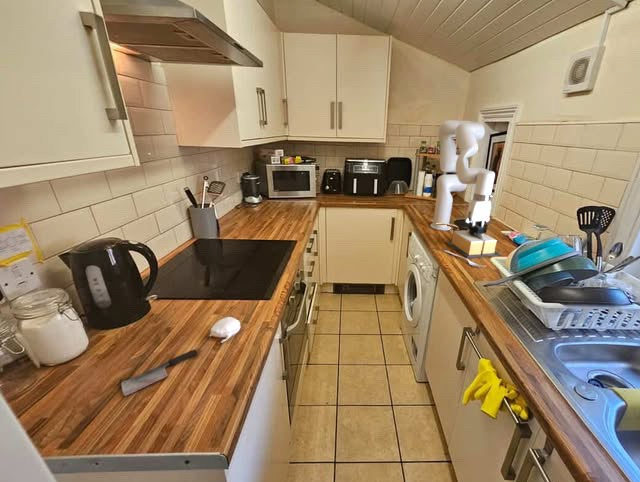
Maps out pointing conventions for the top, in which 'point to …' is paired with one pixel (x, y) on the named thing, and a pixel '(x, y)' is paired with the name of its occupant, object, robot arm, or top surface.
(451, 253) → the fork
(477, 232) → the knife
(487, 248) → the cake
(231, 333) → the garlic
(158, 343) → the top surface
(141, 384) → the cleaver
